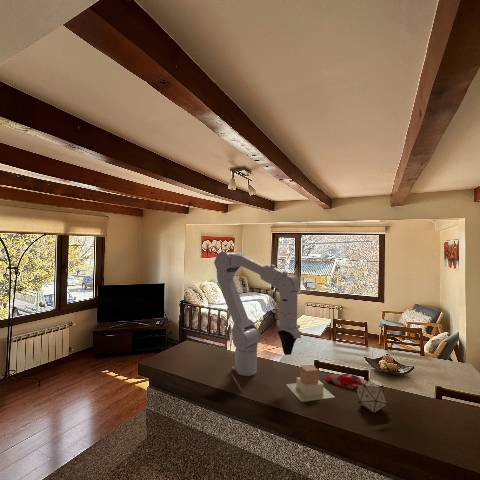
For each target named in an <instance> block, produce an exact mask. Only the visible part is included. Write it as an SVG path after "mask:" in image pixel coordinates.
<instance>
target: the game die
mask: <svg viewBox="0 0 480 480" xmlns="http://www.w3.org/2000/svg"><path fill="white" fill-rule="evenodd" d="M366 381H367V382H366V383H364V384H363V385H361V386H360V387H358V388H355V387H354V389H353V390H354V391H356V393H357V397H358V401H357V404H361V406H363V408H365V409H367V410H369V411H370V412H371V413H372V414H376V413H377V412H378V411H380V410H381V409H383V408H385V406H388V407H391V404H390V403H388V402H387V399H386V396H385V393H384V392H385V389H383V388H384V385H383V384H382V385H379V384H376V383H375V382H373V381H371V379H370V377H369V376H367V380H366Z"/></svg>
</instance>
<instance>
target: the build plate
mask: <svg viewBox="0 0 480 480" xmlns="http://www.w3.org/2000/svg"><path fill="white" fill-rule="evenodd" d="M285 386H287V388H288V389H289V390H290V391H291V392H292V393H293V394H294V395H295V396H296V398H297V399H298V400H299V401H300V402H302V403H303V402H304V403H305V402H310V401H318V400H325V399H332V398H336V396H334V395H333V394H332V393H331V392H330V391H329V390H328V389H327V388H325V386H323V394H320V395H312V396H305V395H304V394H303V393H302V392H301V391H300V390H299V389H298V388H297V387H296V382H295V383H294V382H293V383H288V384H285Z"/></svg>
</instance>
